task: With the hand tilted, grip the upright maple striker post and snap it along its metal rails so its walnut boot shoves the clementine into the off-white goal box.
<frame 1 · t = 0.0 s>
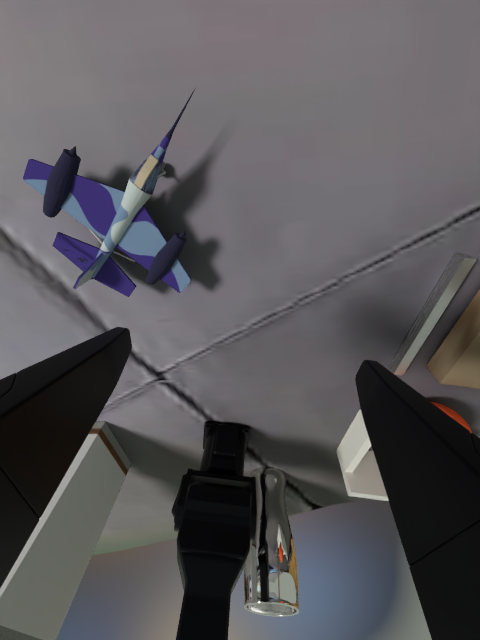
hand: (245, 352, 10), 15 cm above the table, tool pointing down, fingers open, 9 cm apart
rails: (477, 325, 25), on the table
toy airplane: (139, 209, 21), on the table
beer glass: (267, 475, 43), on the table
white square tower: (89, 442, 41), on the table
goal: (395, 435, 34), on the table
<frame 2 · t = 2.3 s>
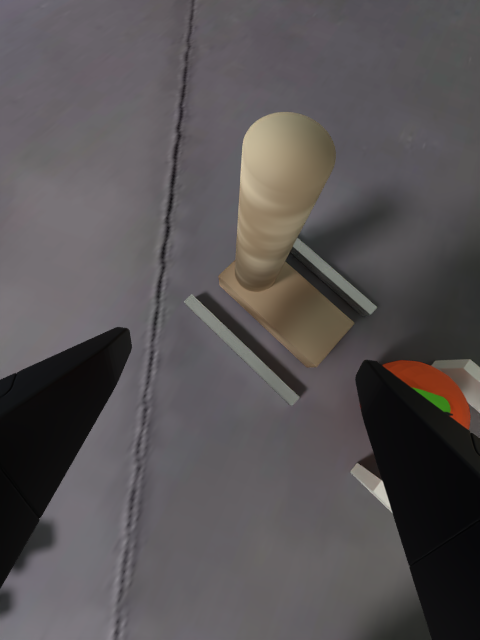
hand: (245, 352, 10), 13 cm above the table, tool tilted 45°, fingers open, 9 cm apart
rails: (279, 307, 24), on the table
striker: (302, 279, 16), point 8 cm above the table, slide at 0.0 cm
goal: (432, 448, 22), on the table
clementine: (375, 397, 23), on the table
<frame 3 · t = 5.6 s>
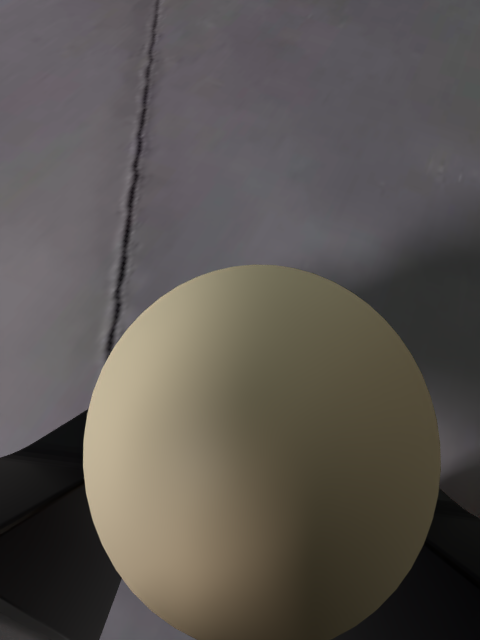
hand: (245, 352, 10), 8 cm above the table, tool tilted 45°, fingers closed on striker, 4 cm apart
striker: (310, 455, 9), point 8 cm above the table, slide at 0.0 cm, touching gripper
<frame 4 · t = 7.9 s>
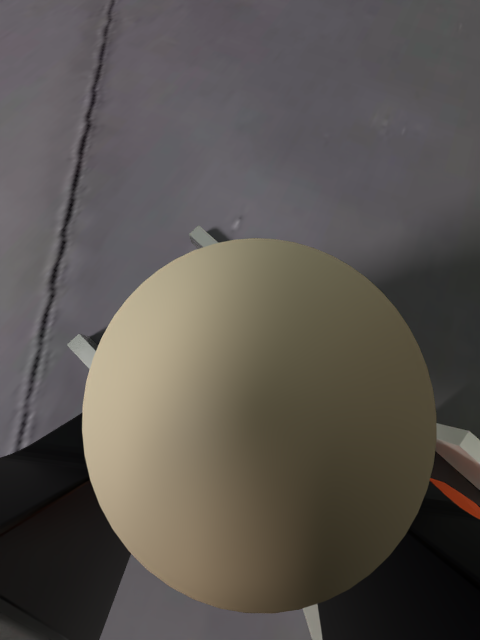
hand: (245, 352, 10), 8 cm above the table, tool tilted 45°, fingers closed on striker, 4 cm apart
rails: (205, 347, 18), on the table
striker: (310, 447, 9), point 8 cm above the table, slide at 6.5 cm, touching clementine, gripper
goal: (419, 553, 15), on the table
clementine: (374, 510, 16), on the table, touching striker
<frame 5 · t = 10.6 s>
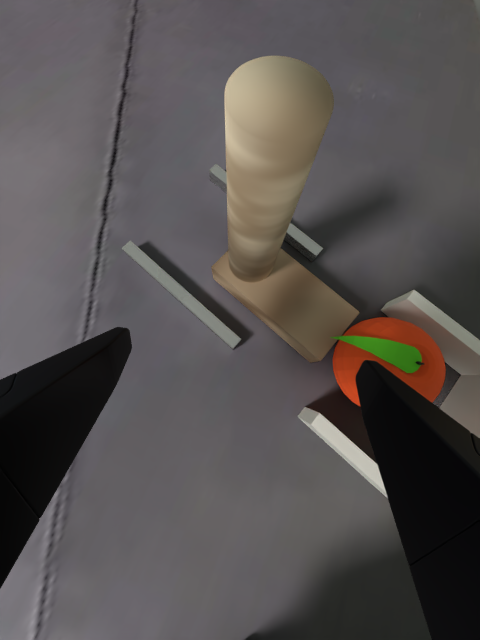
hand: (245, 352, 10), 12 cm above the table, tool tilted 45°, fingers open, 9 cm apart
rails: (224, 254, 23), on the table
striker: (301, 262, 15), point 8 cm above the table, slide at 6.5 cm
goal: (384, 390, 21), on the table
clementine: (352, 364, 22), on the table
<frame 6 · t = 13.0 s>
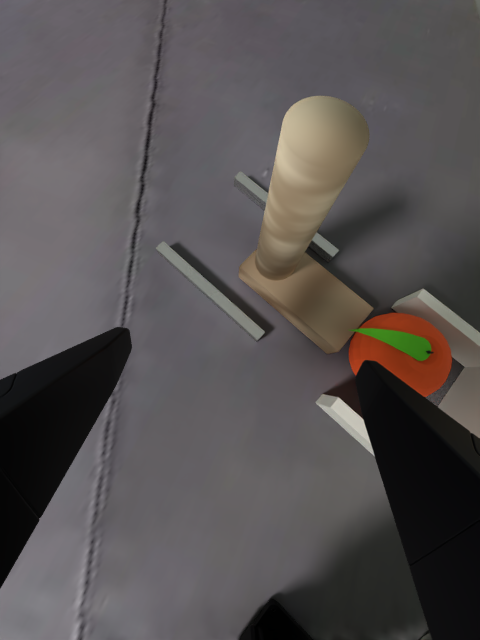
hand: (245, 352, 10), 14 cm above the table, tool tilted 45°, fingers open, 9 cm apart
rails: (247, 255, 25), on the table
striker: (326, 262, 17), point 8 cm above the table, slide at 6.5 cm
goal: (394, 380, 23), on the table
clementine: (365, 356, 24), on the table
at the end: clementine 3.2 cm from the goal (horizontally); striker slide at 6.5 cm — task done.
